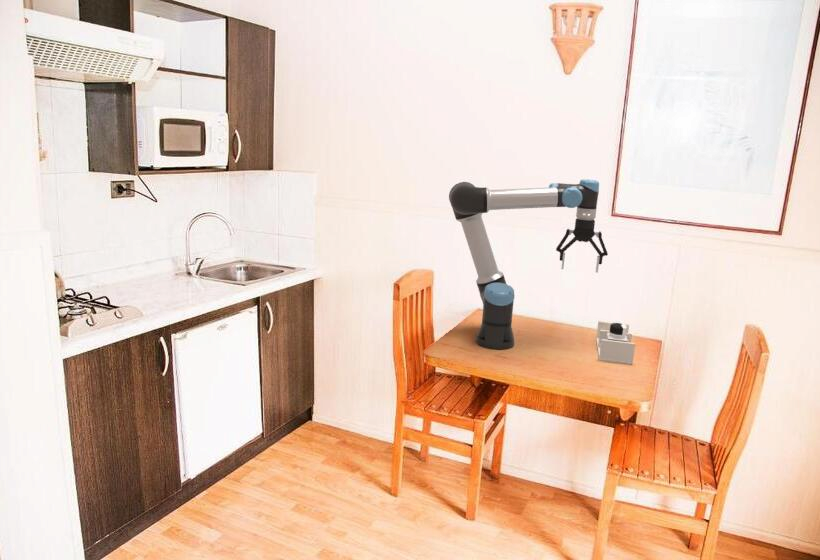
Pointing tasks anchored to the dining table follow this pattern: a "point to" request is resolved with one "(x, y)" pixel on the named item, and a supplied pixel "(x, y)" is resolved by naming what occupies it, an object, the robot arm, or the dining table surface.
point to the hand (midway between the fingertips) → (579, 270)
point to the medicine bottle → (617, 332)
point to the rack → (614, 345)
